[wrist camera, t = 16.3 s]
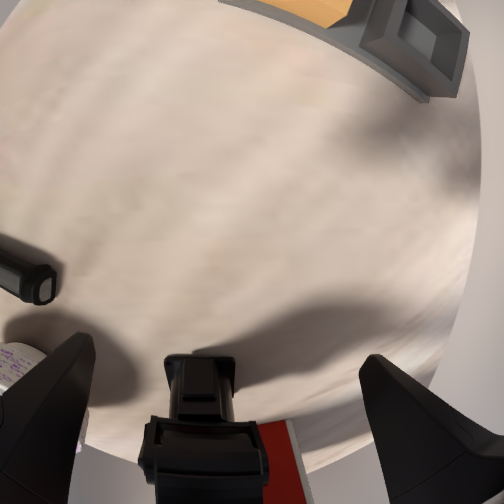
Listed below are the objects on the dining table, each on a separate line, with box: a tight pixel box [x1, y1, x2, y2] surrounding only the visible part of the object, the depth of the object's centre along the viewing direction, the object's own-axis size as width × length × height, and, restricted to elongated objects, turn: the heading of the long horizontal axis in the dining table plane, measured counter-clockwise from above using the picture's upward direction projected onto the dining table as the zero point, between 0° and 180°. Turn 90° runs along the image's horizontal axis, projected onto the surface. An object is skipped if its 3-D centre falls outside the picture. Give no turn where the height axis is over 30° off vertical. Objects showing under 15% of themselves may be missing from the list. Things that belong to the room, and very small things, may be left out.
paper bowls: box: [0, 342, 89, 453], centre depth 20 cm, size 15×15×8 cm
